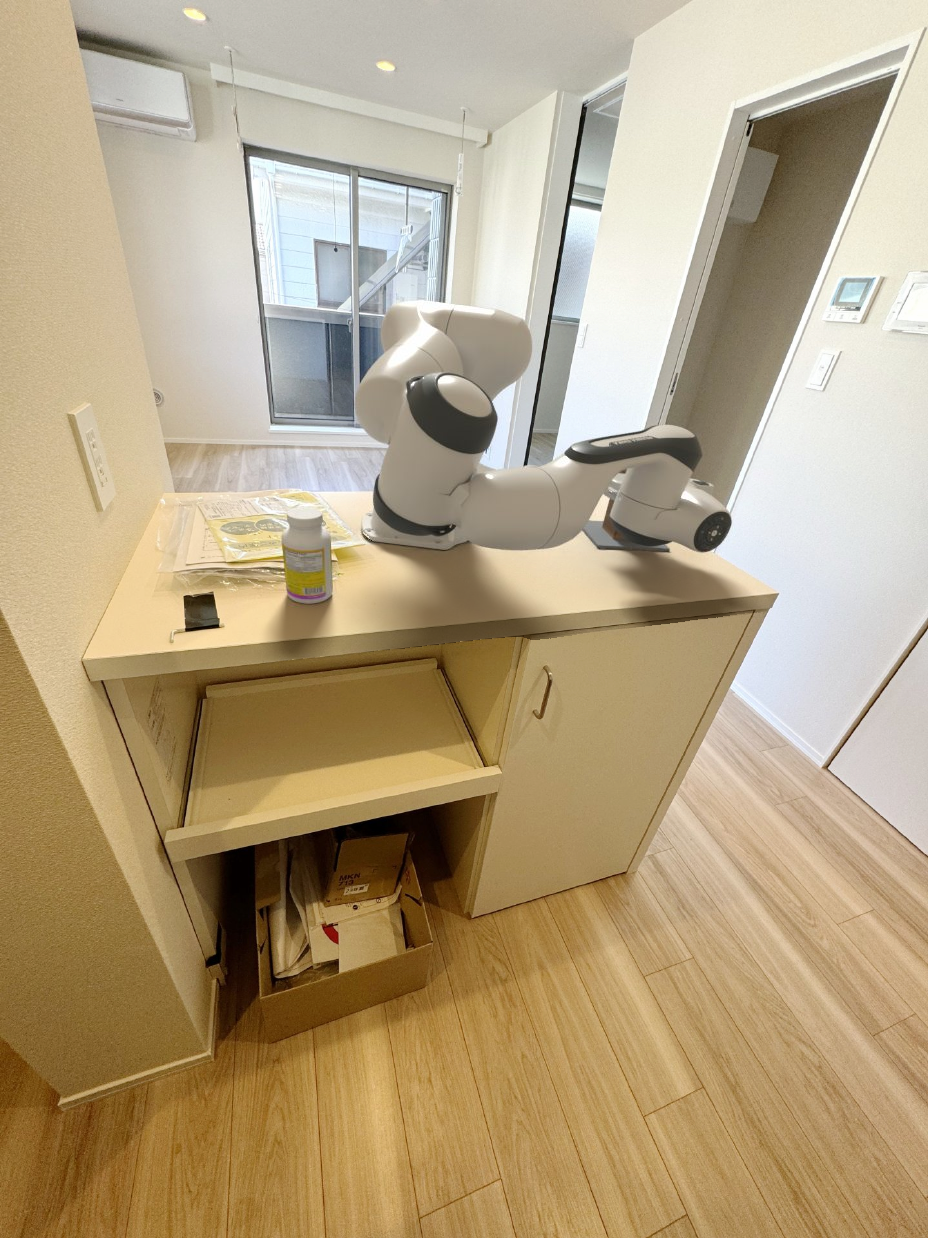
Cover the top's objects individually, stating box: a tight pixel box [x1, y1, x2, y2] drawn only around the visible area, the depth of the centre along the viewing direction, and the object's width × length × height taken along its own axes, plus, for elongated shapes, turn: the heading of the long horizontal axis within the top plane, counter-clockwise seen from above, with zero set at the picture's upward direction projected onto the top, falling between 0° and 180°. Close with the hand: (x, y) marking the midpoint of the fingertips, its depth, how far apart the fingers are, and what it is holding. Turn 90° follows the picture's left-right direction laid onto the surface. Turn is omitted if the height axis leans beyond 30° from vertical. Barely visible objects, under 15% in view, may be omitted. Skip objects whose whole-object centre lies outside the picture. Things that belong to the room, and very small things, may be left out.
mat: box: [581, 519, 671, 552], centre depth 110 cm, size 16×14×1 cm
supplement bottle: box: [281, 506, 334, 605], centre depth 72 cm, size 7×7×13 cm
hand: (635, 476), depth 104 cm, fingers open, 8 cm apart
